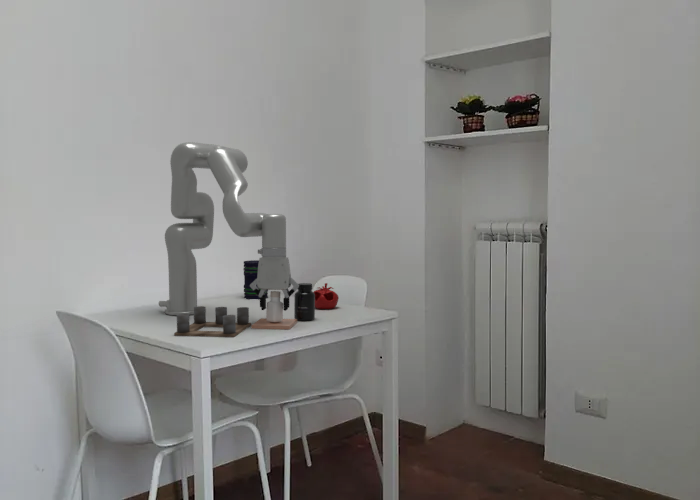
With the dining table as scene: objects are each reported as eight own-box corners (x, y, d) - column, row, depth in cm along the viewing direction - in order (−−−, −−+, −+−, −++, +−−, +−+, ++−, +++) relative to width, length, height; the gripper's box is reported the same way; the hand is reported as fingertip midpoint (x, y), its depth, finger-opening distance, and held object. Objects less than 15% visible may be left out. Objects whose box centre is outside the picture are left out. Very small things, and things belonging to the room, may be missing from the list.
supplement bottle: (299, 322, 209) (299, 285, 208) (291, 318, 215) (290, 283, 214) (318, 320, 212) (318, 284, 211) (310, 317, 218) (309, 282, 217)
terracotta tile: (251, 328, 198) (251, 325, 198) (261, 321, 210) (261, 318, 210) (289, 329, 197) (289, 326, 197) (297, 322, 209) (297, 319, 209)
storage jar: (240, 299, 259) (239, 262, 257) (248, 295, 268) (247, 260, 267) (264, 299, 257) (263, 262, 256) (271, 296, 267) (270, 260, 265)
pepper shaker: (274, 320, 206) (275, 290, 206) (283, 321, 204) (284, 291, 204) (265, 321, 203) (266, 291, 203) (274, 322, 201) (275, 292, 201)
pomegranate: (316, 306, 243) (316, 281, 243) (342, 306, 240) (341, 282, 240) (307, 309, 234) (307, 284, 233) (333, 310, 231) (333, 284, 230)
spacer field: (174, 335, 188) (173, 316, 187) (196, 324, 206) (195, 306, 205) (234, 337, 186) (233, 317, 185) (251, 325, 203) (250, 307, 203)
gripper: (244, 254, 199) (244, 311, 200) (299, 254, 197) (299, 312, 198) (250, 252, 207) (251, 307, 208) (303, 252, 205) (303, 308, 206)
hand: (274, 309), depth 203 cm, fingers open, 6 cm apart
